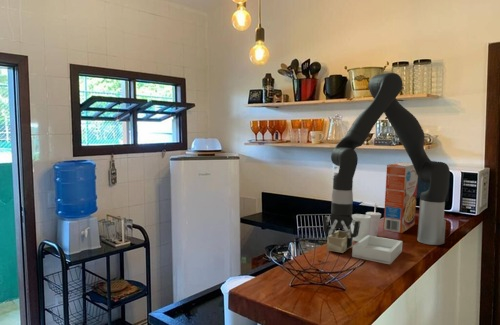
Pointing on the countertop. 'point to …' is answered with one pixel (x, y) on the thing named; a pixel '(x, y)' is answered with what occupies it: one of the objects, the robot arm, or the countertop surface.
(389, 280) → the countertop surface
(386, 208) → the orange cereal box
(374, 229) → the smoothie
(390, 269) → the countertop surface
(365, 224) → the white cup
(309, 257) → the countertop surface
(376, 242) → the white crate
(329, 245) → the birch crate
